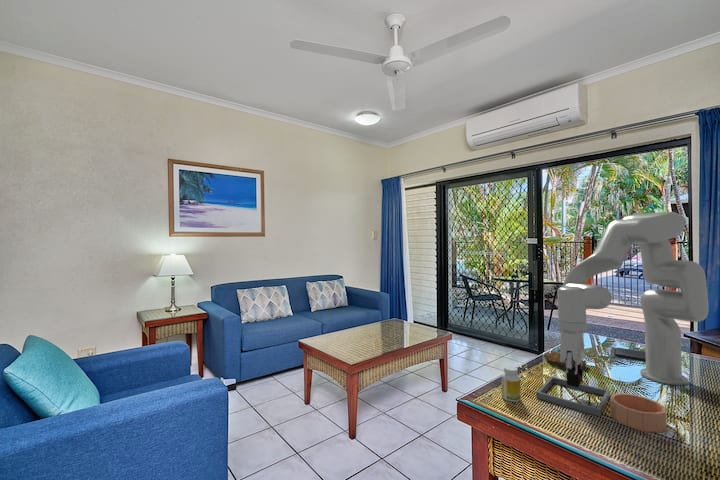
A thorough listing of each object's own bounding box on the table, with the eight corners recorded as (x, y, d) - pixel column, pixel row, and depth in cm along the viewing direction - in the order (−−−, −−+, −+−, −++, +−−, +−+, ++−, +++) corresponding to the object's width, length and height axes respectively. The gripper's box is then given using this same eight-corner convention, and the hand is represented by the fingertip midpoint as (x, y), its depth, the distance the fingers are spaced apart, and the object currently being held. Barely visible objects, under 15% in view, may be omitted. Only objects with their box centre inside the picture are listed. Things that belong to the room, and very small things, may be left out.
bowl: (614, 405, 99) (613, 389, 99) (666, 419, 91) (666, 402, 91) (607, 421, 91) (607, 403, 91) (665, 438, 82) (665, 418, 82)
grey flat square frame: (551, 381, 116) (551, 376, 116) (609, 396, 105) (609, 390, 105) (536, 397, 105) (536, 392, 105) (600, 416, 93) (600, 410, 93)
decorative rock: (537, 364, 134) (579, 376, 123) (537, 354, 134) (579, 366, 123) (548, 356, 142) (589, 367, 130) (548, 347, 141) (589, 357, 130)
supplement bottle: (498, 396, 106) (497, 366, 106) (509, 393, 108) (509, 363, 108) (512, 403, 101) (511, 372, 101) (524, 400, 103) (523, 369, 103)
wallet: (609, 353, 141) (611, 344, 152) (609, 357, 141) (611, 348, 152) (674, 364, 128) (671, 353, 139) (674, 369, 128) (671, 358, 139)
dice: (584, 384, 105) (583, 372, 105) (579, 389, 102) (579, 376, 102) (570, 381, 108) (569, 368, 108) (566, 385, 105) (565, 373, 105)
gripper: (565, 318, 114) (567, 371, 114) (551, 330, 102) (554, 389, 102) (591, 321, 108) (594, 377, 108) (580, 334, 96) (583, 396, 96)
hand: (574, 382), depth 105 cm, fingers closed on dice, 4 cm apart
